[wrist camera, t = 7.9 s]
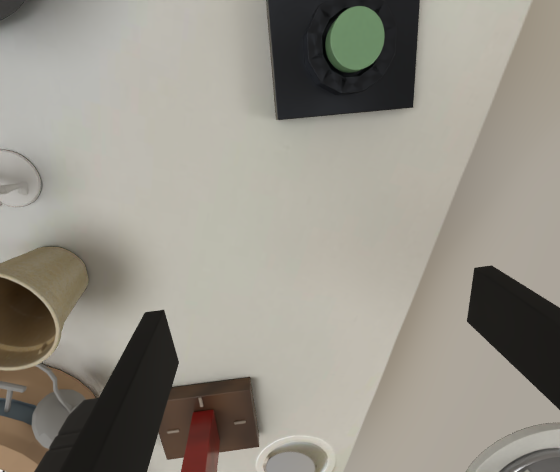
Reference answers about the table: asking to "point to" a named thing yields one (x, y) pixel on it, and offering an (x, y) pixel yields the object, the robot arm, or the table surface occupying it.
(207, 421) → the red rectangular block
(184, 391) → the base plate
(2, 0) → the planter
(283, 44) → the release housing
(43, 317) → the flower pot
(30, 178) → the figurine
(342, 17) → the release button
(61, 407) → the alarm clock
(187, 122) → the table surface
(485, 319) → the robot arm
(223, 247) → the table surface
